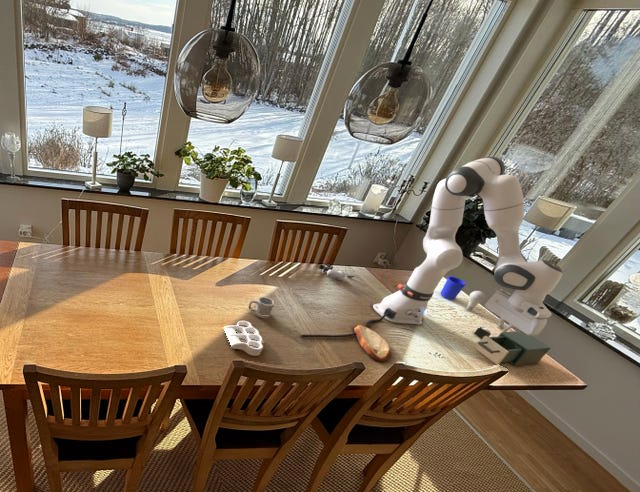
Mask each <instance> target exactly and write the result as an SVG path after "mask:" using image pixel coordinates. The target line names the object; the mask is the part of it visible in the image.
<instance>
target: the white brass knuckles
mask: <svg viewBox="0 0 640 492" xmlns="http://www.w3.org/2000/svg"><path fill="white" fill-rule="evenodd" d="M239 325H245V326H247V327H244V326H239ZM223 329H224V331H225V332H224V331H223V332H224V334H225V333H226V335H225V337H226V336H227V337H226V339H227V338H228V339H227V340H229V341H228V343H229V342H230V344H229V346H230V345H231V347H244V348H246V349H247V350H248V351H250V352H252V353H259V354H252V353H250V352H248V351H247V350H246V349H243V348H242V350H241V351H243V352H245V353H246V354H247V355H249V356H253V357H257V356H260V355H261V354H262V352H263V349H264V345H263V344H265V343H266V341H264V340H263V337H262V336H261V335H260V331H259V330H258V329H257V328H255V327H254V326H252V323H251V322H249V321H248V320H239V321H237V323H236V325H225V326H224V327H222V330H223ZM236 329H237V330H239V331H241V332H242V333H240V332H238V331H235V330H236ZM236 332H237V333H236ZM247 332H248V333H247ZM250 332H253V333H254V334H253V333H250ZM239 338H243V339H245V340H246V341H245V340H240V339H239ZM251 339H255V340H251ZM256 340H257V341H256ZM246 342H247V343H246ZM249 345H253V346H256V347H258V348H256V347H253V346H249ZM231 347H230V348H231ZM260 352H261V353H260Z"/></svg>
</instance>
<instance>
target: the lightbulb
mask: <svg viewBox="0 0 640 492" xmlns="http://www.w3.org/2000/svg"><path fill="white" fill-rule="evenodd" d="M468 297H469V299H468V302H467V306H466V307H465V309H466V311H473V309H474V308H476V306H477V305H479V304H481V303H483V302H484V301H485V299H486V295H485V293H484V292H483V291H480V290H474V291H472V292H470V294H469V296H468Z"/></svg>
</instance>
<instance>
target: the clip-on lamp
mask: <svg viewBox="0 0 640 492" xmlns="http://www.w3.org/2000/svg"><path fill="white" fill-rule="evenodd" d="M318 269H319V270H322V271H321V272H322V274H325V273H326V275H327V276H328V277H331V278H334V279H335V280H336V281H343V280H344V279H345V278H346V277H347V278H356V276H355V275H347V267H346V266H344V268H343V270H333V269H334V266H333V265H331V264H327V265H326V264H323V263H321V264H320V263H319V266H318Z"/></svg>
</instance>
